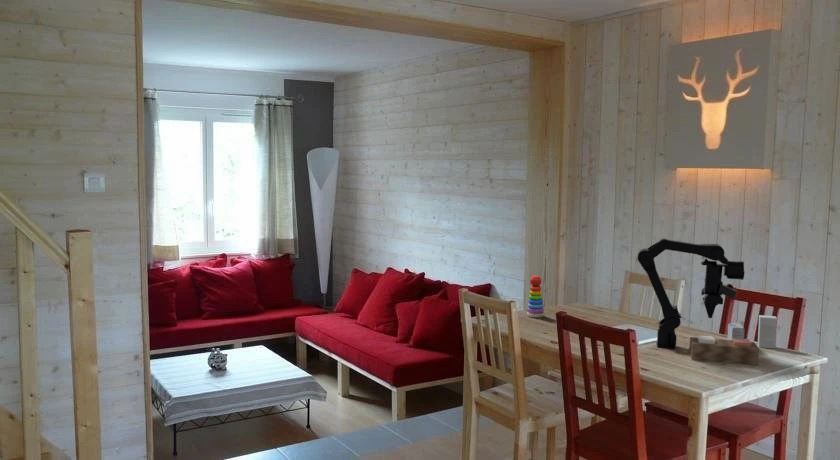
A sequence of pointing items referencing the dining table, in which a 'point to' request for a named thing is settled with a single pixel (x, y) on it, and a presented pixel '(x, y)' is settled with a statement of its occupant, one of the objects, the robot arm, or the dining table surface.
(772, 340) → the skincare box
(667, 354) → the dining table surface
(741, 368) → the dining table surface
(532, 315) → the stacking toy
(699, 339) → the ivory key
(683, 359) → the dining table surface
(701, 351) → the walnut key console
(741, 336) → the medicine box
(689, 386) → the dining table surface
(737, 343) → the brick-red key
